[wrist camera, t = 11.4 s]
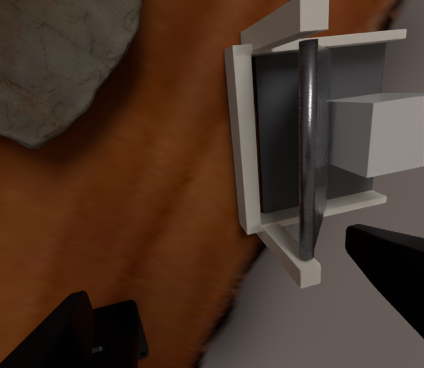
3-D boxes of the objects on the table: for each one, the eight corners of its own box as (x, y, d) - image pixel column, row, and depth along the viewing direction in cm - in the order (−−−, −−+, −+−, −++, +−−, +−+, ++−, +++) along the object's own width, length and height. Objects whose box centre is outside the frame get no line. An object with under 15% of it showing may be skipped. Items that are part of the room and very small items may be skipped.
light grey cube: (366, 177, 19) (426, 165, 19) (373, 103, 17) (438, 93, 18) (322, 161, 23) (372, 151, 24) (324, 101, 21) (377, 93, 22)
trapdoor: (298, 258, 17) (312, 261, 17) (296, 41, 13) (316, 38, 12) (316, 205, 24) (327, 206, 23) (319, 49, 19) (333, 47, 19)
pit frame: (240, 233, 24) (281, 293, 17) (222, 34, 18) (272, -4, 11) (368, 204, 26) (452, 245, 19) (385, 20, 21) (511, -19, 14)
